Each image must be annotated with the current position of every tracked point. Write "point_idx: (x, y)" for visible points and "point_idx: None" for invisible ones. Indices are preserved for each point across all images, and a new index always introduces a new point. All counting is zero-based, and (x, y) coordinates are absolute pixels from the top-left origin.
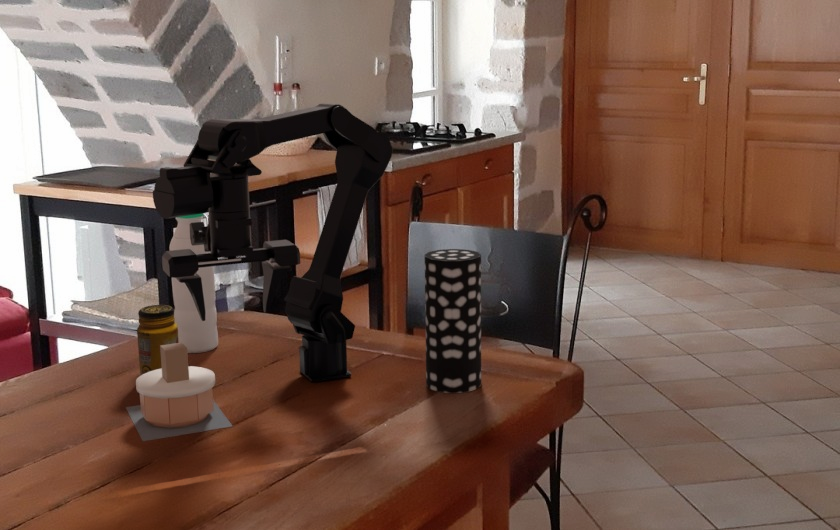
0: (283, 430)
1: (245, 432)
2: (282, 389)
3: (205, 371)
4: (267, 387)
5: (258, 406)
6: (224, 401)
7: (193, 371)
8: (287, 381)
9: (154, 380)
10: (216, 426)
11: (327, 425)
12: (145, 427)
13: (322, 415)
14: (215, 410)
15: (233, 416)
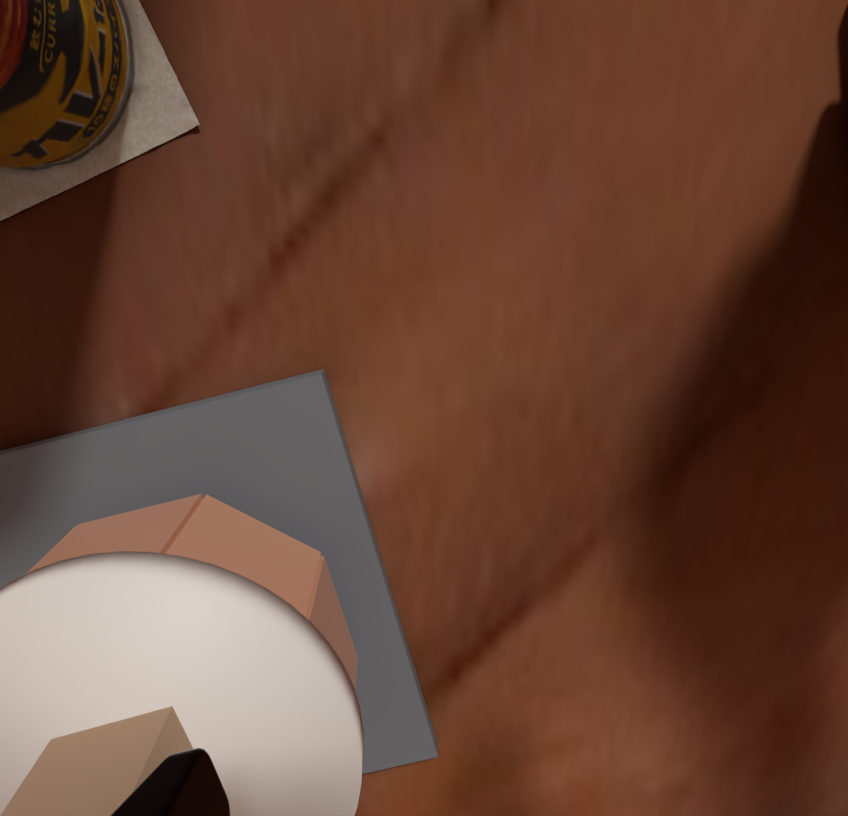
0: (621, 767)
1: (482, 763)
2: (694, 302)
3: (302, 697)
4: (623, 253)
5: (553, 513)
6: (399, 420)
7: (227, 684)
8: (742, 172)
9: (19, 786)
10: (374, 749)
11: (787, 749)
12: None
13: (795, 656)
14: (363, 587)
15: (440, 607)
